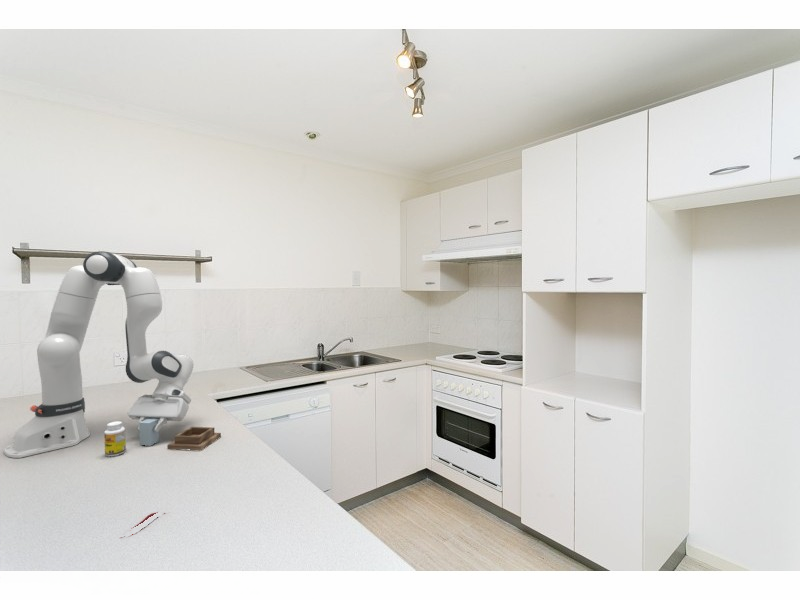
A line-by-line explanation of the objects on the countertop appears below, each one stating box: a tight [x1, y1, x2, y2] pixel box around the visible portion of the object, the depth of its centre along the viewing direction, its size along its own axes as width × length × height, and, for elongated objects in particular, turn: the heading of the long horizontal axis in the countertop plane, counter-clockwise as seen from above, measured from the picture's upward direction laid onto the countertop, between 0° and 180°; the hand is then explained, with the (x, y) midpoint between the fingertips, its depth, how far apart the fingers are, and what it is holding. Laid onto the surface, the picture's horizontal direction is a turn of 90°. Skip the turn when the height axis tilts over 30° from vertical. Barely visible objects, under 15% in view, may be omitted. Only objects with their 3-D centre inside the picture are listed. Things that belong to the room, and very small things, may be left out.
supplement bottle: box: [103, 420, 127, 457], centre depth 130 cm, size 6×6×10 cm
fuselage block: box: [138, 419, 160, 447], centre depth 137 cm, size 4×4×8 cm
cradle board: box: [166, 426, 222, 451], centre depth 138 cm, size 12×12×4 cm
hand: (147, 431), depth 137 cm, fingers closed on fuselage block, 4 cm apart
